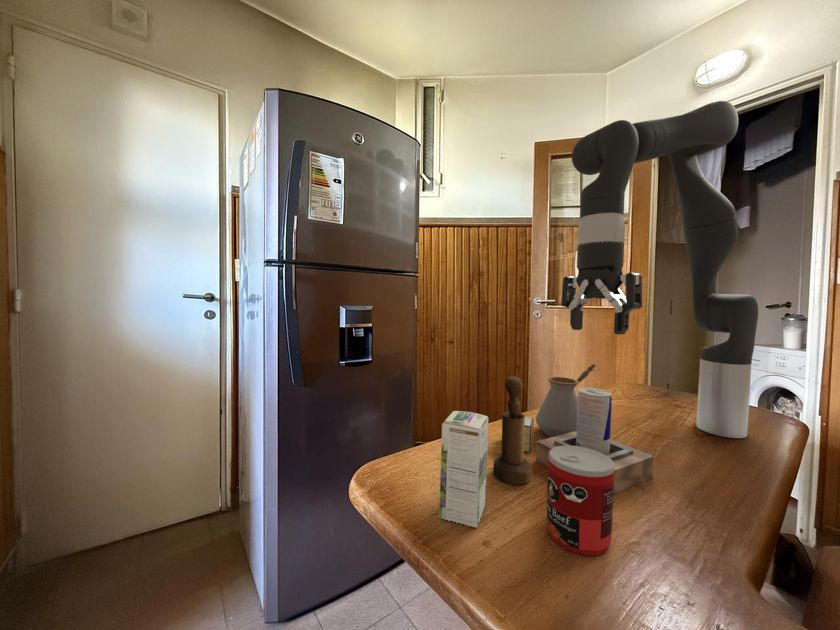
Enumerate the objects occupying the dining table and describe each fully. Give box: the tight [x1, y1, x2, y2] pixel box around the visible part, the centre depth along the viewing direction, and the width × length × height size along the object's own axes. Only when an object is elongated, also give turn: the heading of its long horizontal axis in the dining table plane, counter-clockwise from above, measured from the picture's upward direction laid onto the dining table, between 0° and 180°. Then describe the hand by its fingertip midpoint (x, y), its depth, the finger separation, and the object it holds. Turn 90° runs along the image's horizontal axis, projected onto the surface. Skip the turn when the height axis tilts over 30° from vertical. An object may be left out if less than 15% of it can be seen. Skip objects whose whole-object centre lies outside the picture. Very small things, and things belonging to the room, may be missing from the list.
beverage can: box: [576, 387, 613, 455], centre depth 64 cm, size 6×6×15 cm
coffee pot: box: [535, 363, 600, 438], centre depth 83 cm, size 21×12×15 cm, turn 127°
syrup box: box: [438, 410, 489, 529], centre depth 50 cm, size 6×6×14 cm
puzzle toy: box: [524, 416, 535, 453], centre depth 74 cm, size 6×6×6 cm
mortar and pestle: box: [492, 375, 532, 486], centre depth 61 cm, size 7×6×18 cm
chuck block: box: [535, 431, 654, 495], centre depth 64 cm, size 14×14×5 cm
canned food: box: [545, 445, 615, 557], centre depth 46 cm, size 8×8×11 cm
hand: (596, 331), depth 63 cm, fingers open, 8 cm apart
